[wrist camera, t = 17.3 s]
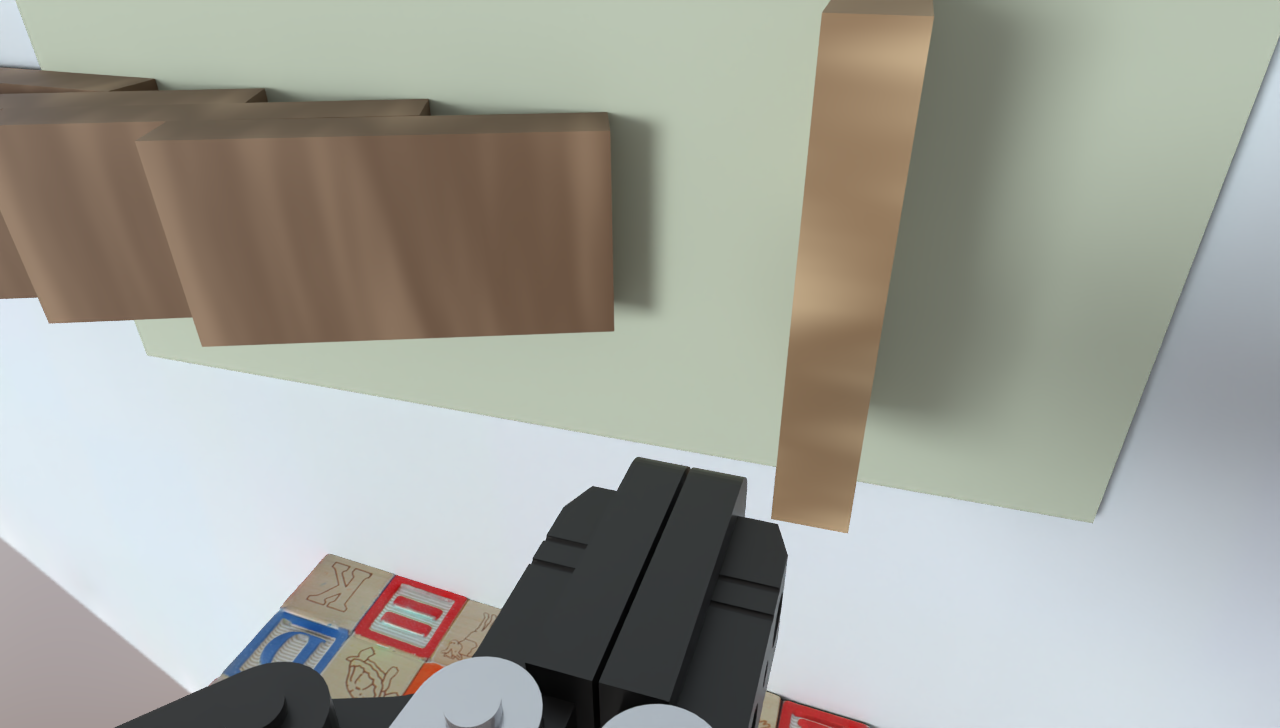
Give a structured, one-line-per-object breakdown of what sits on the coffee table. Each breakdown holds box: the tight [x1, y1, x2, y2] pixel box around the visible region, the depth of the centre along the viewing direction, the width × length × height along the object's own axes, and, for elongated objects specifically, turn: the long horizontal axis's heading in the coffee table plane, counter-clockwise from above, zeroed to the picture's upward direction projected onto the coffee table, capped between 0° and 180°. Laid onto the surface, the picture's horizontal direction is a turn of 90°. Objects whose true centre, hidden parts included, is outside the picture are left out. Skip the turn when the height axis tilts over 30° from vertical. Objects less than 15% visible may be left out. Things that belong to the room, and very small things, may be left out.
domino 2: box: [0, 88, 268, 299], centre depth 21 cm, size 2×5×10 cm
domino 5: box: [771, 0, 934, 533], centre depth 17 cm, size 2×5×10 cm
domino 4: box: [135, 112, 614, 347], centre depth 19 cm, size 2×5×10 cm
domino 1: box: [0, 67, 158, 94], centre depth 24 cm, size 2×5×10 cm
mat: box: [16, 0, 1280, 523], centre depth 20 cm, size 30×16×1 cm, turn 90°
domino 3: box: [0, 99, 431, 323], centre depth 20 cm, size 2×5×10 cm
